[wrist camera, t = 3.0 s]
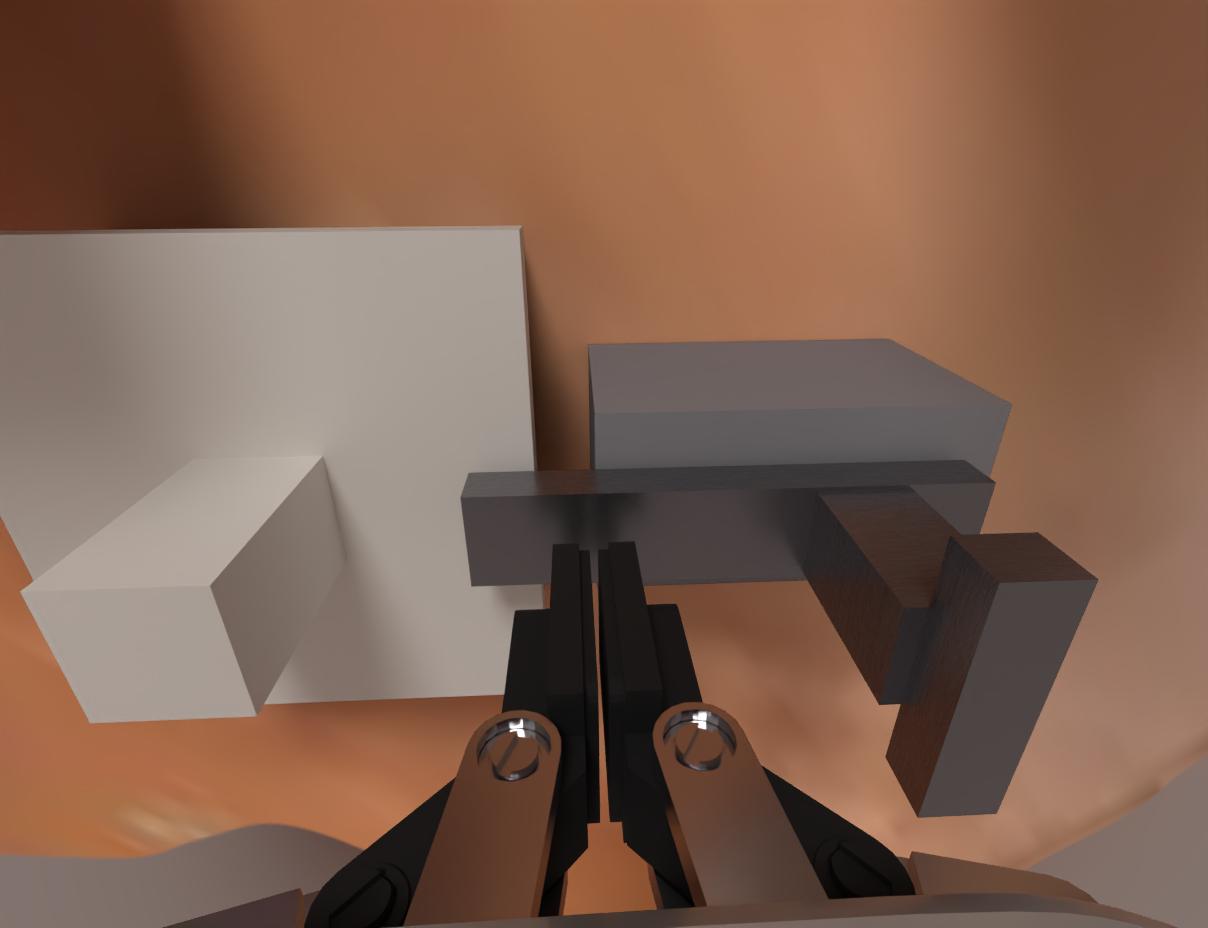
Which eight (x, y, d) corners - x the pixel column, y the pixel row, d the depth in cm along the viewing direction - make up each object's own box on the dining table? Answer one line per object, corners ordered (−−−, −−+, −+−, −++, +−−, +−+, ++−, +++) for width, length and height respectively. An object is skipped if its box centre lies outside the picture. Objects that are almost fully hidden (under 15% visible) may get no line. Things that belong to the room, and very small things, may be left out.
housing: (103, 234, 17) (-115, 263, 12) (912, 225, 18) (1059, 250, 13) (220, 572, 23) (107, 703, 17) (845, 552, 24) (929, 669, 18)
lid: (-94, 231, 13) (-580, 276, 7) (522, 225, 13) (489, 263, 8) (123, 684, 18) (-61, 897, 13) (549, 668, 19) (540, 864, 14)
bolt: (462, 421, 14) (384, 604, 8) (978, 409, 14) (1258, 574, 8) (483, 598, 16) (433, 842, 10) (929, 582, 16) (1124, 807, 11)
